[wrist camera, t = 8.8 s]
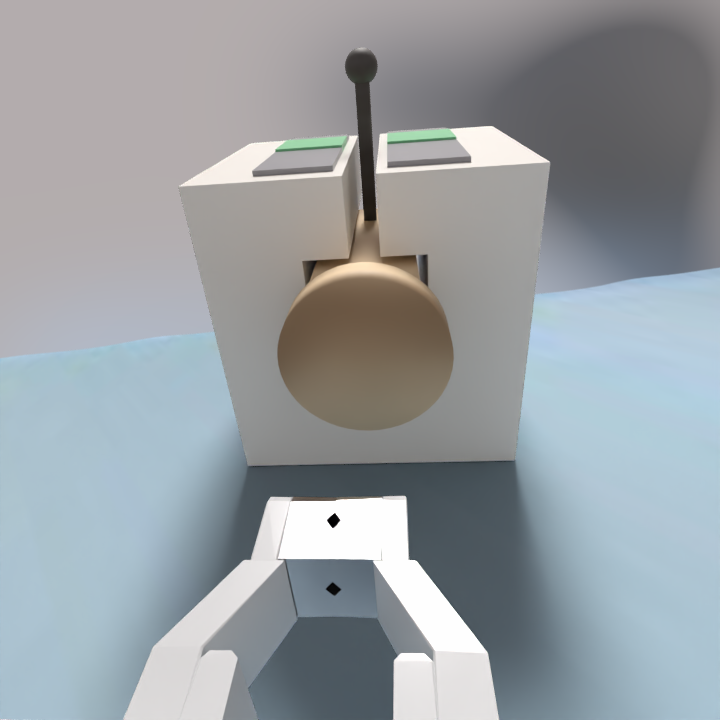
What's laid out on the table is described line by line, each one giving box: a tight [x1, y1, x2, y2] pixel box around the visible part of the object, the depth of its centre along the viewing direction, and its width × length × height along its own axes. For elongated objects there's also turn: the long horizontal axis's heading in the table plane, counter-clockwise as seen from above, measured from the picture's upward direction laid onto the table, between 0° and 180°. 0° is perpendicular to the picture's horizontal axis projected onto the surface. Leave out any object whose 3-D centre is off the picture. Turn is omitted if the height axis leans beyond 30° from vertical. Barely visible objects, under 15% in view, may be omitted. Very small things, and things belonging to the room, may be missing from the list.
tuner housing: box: [178, 126, 550, 466], centre depth 25 cm, size 11×13×14 cm
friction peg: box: [277, 48, 454, 431], centre depth 21 cm, size 12×6×12 cm, turn 177°
